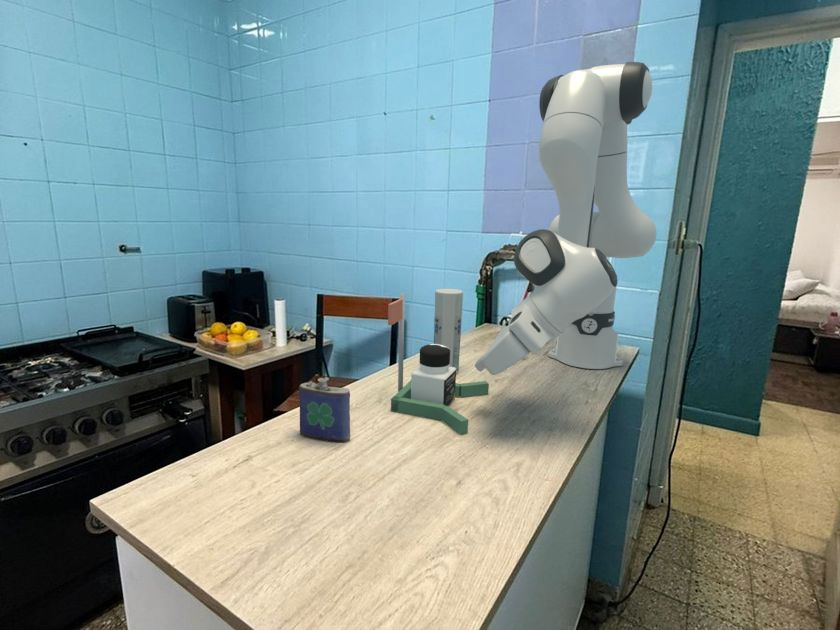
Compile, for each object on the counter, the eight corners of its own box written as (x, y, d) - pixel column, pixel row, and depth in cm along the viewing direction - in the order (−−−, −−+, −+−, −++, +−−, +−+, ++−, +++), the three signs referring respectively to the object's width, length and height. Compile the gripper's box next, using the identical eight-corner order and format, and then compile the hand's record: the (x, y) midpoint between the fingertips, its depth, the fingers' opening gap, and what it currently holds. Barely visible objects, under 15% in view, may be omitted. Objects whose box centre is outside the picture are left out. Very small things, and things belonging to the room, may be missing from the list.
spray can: (432, 366, 112) (435, 288, 107) (458, 367, 111) (462, 288, 107) (432, 375, 105) (435, 292, 101) (459, 376, 105) (463, 293, 100)
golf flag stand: (415, 380, 102) (417, 286, 97) (489, 392, 96) (495, 292, 91) (376, 418, 83) (377, 303, 78) (466, 435, 77) (472, 312, 72)
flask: (352, 437, 76) (352, 378, 73) (345, 445, 73) (344, 384, 71) (304, 428, 78) (302, 371, 76) (295, 436, 76) (293, 377, 73)
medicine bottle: (443, 413, 86) (446, 354, 83) (410, 406, 88) (411, 349, 86) (455, 399, 92) (457, 344, 89) (423, 393, 95) (425, 339, 92)
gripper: (529, 298, 90) (479, 339, 95) (514, 322, 71) (453, 371, 76) (550, 322, 89) (499, 361, 95) (540, 352, 70) (477, 399, 76)
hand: (478, 366), depth 85 cm, fingers closed
